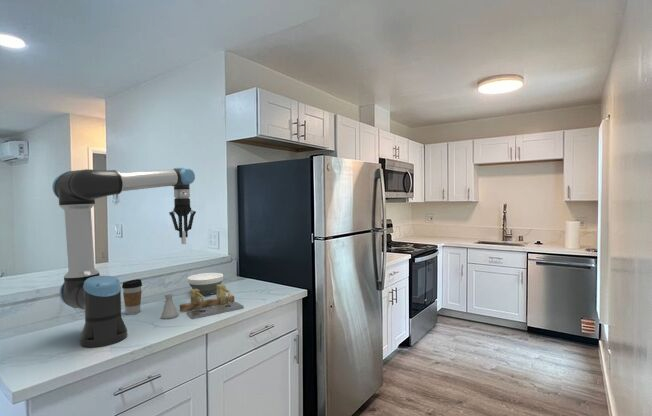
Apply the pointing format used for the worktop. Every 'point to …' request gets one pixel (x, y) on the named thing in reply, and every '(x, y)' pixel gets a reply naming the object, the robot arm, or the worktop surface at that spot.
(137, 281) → the coffee cup
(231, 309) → the hole plate
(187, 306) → the rail
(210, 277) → the bowl
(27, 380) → the worktop surface
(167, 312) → the flask
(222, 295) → the slider leg
